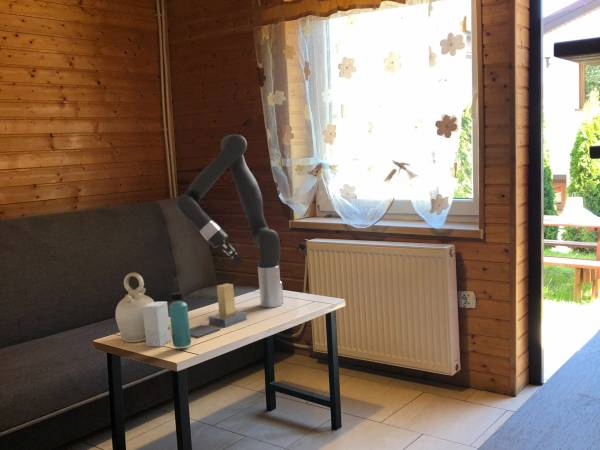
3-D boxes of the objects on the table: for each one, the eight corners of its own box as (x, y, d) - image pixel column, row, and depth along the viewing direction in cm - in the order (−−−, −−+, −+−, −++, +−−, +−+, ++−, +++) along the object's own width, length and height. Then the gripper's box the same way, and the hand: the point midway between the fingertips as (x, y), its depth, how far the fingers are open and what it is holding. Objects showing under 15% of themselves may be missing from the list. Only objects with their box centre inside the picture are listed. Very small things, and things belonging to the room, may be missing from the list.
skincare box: (160, 347, 229) (156, 306, 228) (145, 346, 231) (141, 306, 229) (171, 340, 237) (168, 300, 236) (157, 339, 239) (153, 300, 237)
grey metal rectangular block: (230, 317, 264) (230, 309, 264) (246, 319, 258) (246, 312, 258) (209, 324, 255) (208, 317, 255) (225, 327, 249) (224, 319, 249)
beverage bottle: (195, 347, 226) (190, 291, 224) (180, 352, 221) (174, 295, 219) (184, 344, 231) (179, 289, 228) (168, 349, 226) (163, 293, 223)
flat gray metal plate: (200, 326, 253) (200, 325, 253) (220, 330, 246) (220, 328, 246) (179, 334, 245) (178, 332, 245) (198, 337, 238) (198, 336, 238)
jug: (138, 330, 254) (132, 267, 251) (168, 333, 246) (162, 269, 243) (109, 341, 241) (102, 276, 238) (139, 345, 233) (132, 277, 230)
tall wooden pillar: (228, 312, 259) (226, 283, 258) (235, 313, 257) (233, 284, 255) (219, 315, 256) (216, 286, 254) (226, 316, 253) (223, 286, 252)
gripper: (219, 227, 254) (248, 256, 254) (221, 228, 268) (248, 256, 268) (205, 240, 253) (234, 270, 254) (207, 240, 267) (235, 268, 268)
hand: (241, 262), depth 261 cm, fingers open, 8 cm apart
